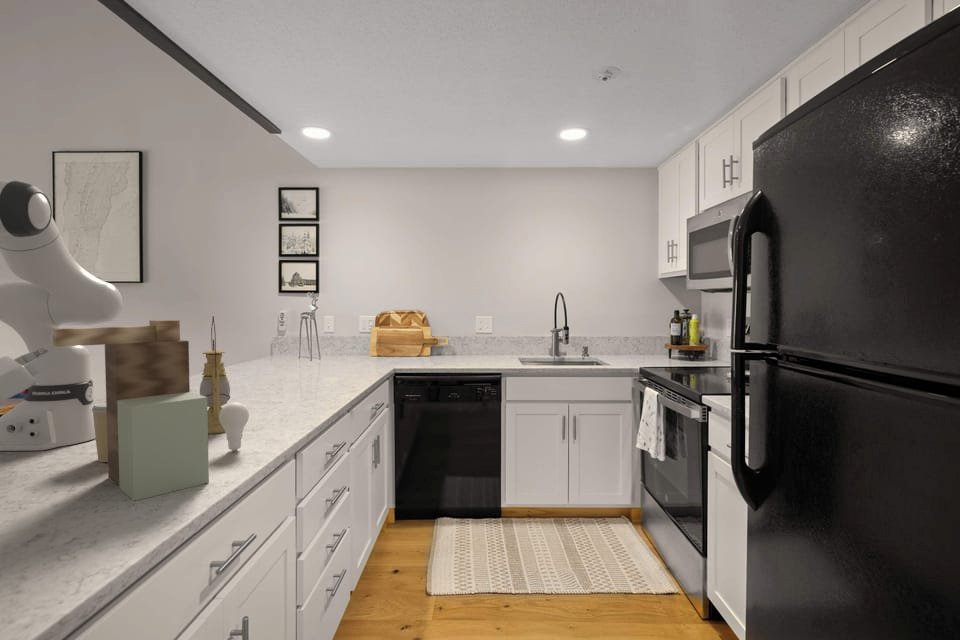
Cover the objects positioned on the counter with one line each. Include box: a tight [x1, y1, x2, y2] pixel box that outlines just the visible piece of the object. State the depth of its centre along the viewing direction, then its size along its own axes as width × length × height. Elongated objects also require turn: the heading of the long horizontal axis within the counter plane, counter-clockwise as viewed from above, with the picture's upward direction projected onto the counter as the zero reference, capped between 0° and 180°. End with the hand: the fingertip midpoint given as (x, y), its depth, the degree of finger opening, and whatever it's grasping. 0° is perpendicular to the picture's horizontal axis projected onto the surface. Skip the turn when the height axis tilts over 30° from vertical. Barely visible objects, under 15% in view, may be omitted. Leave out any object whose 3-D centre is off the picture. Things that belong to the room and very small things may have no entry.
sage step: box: [117, 391, 210, 501], centre depth 95 cm, size 12×9×16 cm
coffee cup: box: [92, 400, 108, 463], centre depth 113 cm, size 9×9×12 cm
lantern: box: [199, 315, 231, 435], centre depth 136 cm, size 12×10×30 cm
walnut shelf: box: [104, 339, 191, 489], centre depth 101 cm, size 12×8×26 cm, turn 137°
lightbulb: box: [219, 401, 250, 452], centre depth 117 cm, size 6×6×11 cm
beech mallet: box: [53, 319, 181, 347], centre depth 97 cm, size 19×4×4 cm, turn 137°
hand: (52, 352), depth 90 cm, fingers open, 8 cm apart
